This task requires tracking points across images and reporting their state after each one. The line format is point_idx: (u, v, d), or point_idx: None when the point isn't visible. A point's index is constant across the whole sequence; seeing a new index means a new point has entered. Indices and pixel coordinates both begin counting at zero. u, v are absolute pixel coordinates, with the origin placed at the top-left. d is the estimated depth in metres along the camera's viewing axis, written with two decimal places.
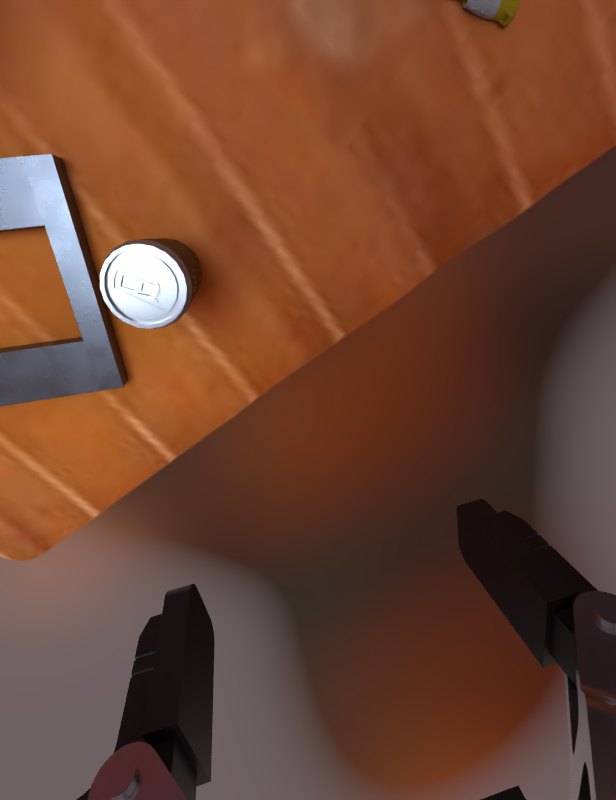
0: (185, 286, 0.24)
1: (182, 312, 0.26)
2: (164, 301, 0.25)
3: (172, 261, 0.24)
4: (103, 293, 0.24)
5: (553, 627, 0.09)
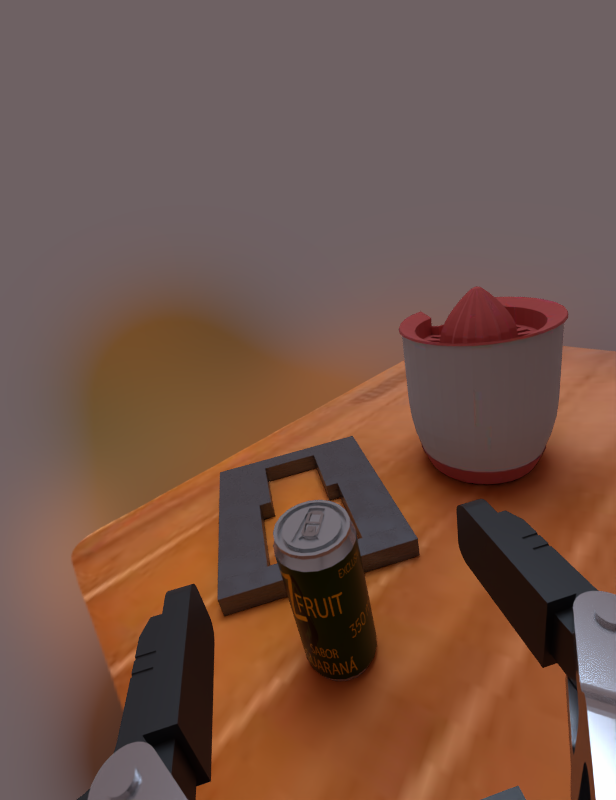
0: (315, 554, 0.23)
1: (289, 564, 0.24)
2: (299, 542, 0.24)
3: (338, 541, 0.24)
4: (304, 503, 0.27)
5: (553, 627, 0.09)
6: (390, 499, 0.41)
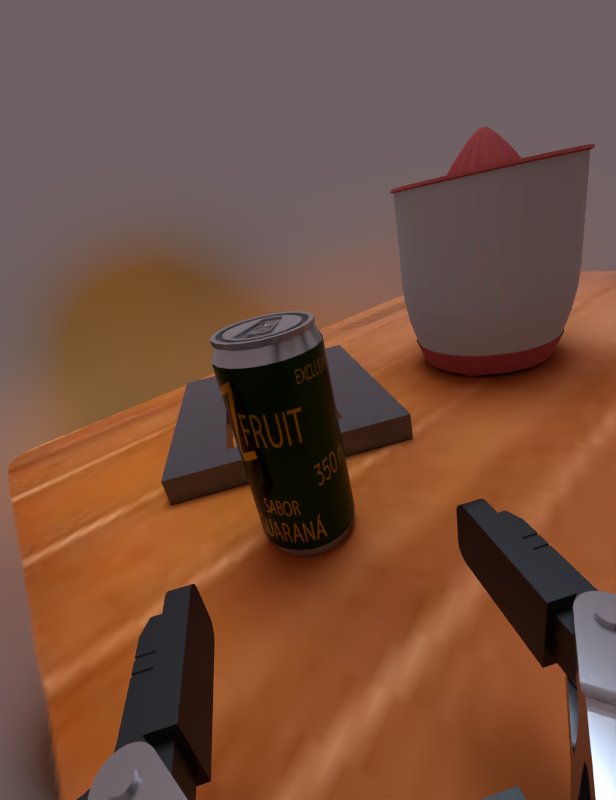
0: (261, 339, 0.17)
1: (227, 362, 0.17)
2: None
3: (294, 329, 0.17)
4: (257, 317, 0.21)
5: (553, 627, 0.09)
6: (379, 386, 0.34)
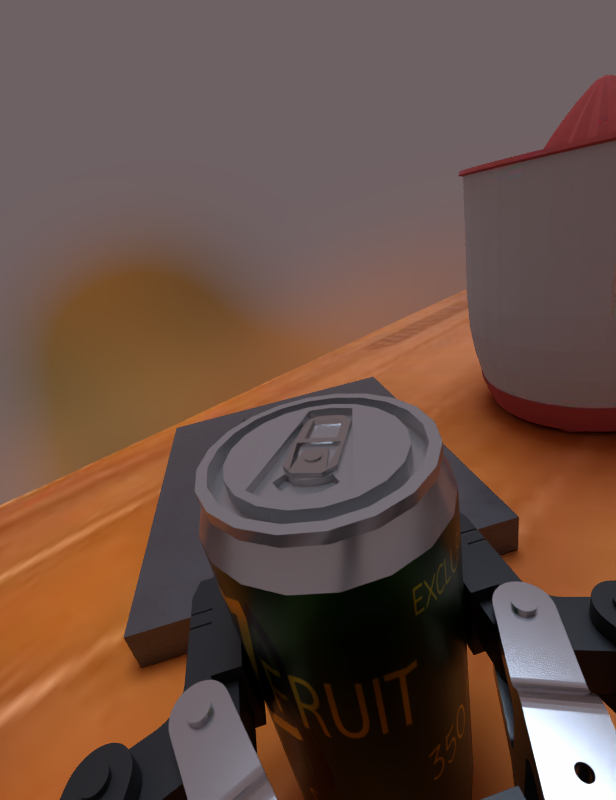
0: (332, 526, 0.06)
1: (237, 565, 0.07)
2: (274, 493, 0.07)
3: (414, 483, 0.07)
4: (295, 402, 0.10)
5: (479, 616, 0.09)
6: (449, 454, 0.24)
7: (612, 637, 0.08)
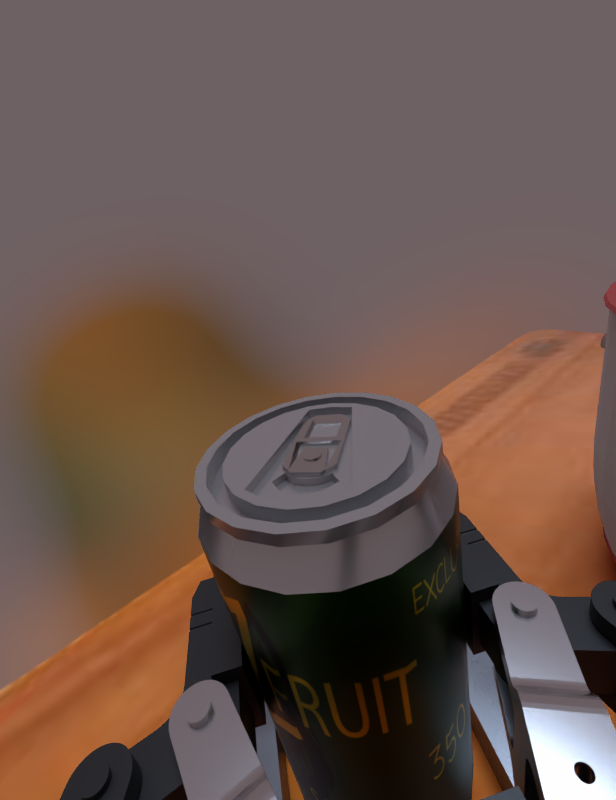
0: (331, 525, 0.06)
1: (236, 564, 0.07)
2: (273, 492, 0.07)
3: (414, 482, 0.06)
4: (294, 401, 0.10)
5: (479, 616, 0.09)
6: None
7: (612, 637, 0.08)
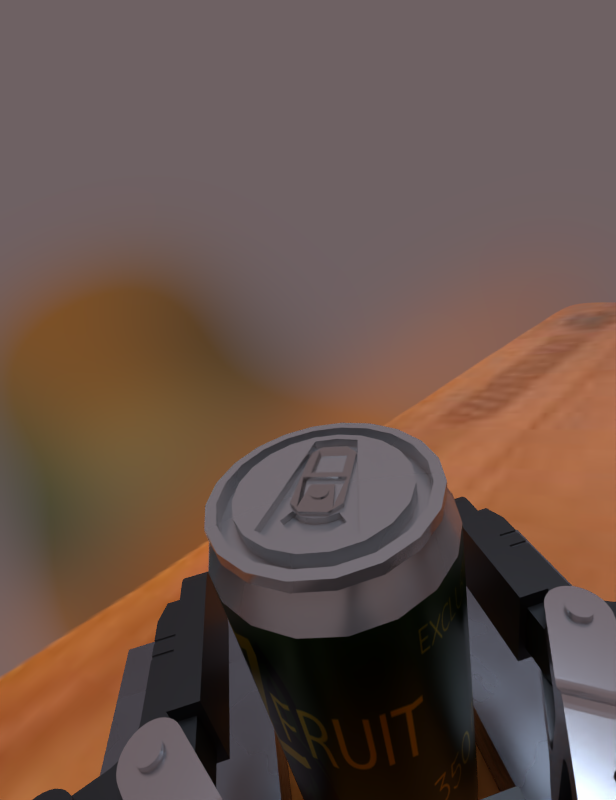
0: (340, 573, 0.06)
1: (247, 606, 0.07)
2: (282, 533, 0.07)
3: (419, 527, 0.07)
4: (300, 431, 0.10)
5: (526, 621, 0.09)
6: None
7: None
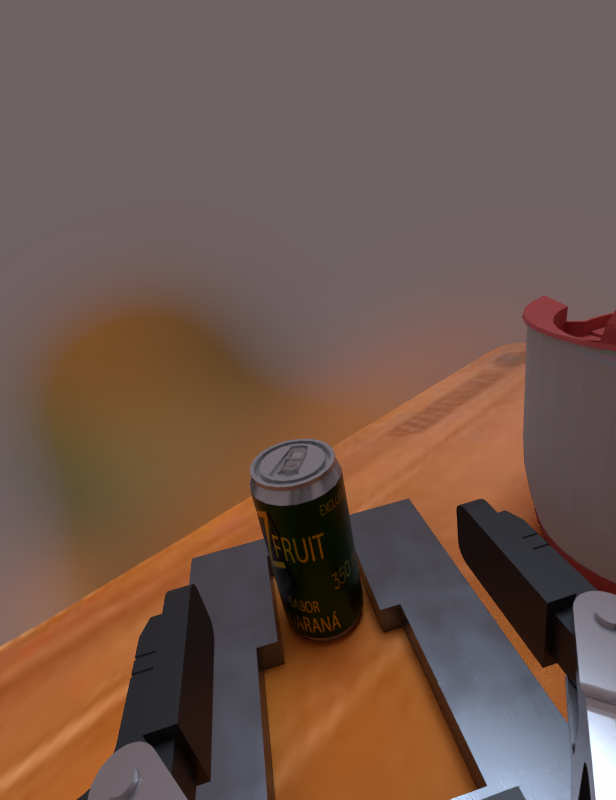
0: (294, 484, 0.21)
1: (265, 498, 0.21)
2: (277, 476, 0.22)
3: (320, 473, 0.21)
4: (286, 442, 0.25)
5: (553, 628, 0.09)
6: (519, 662, 0.20)
7: None
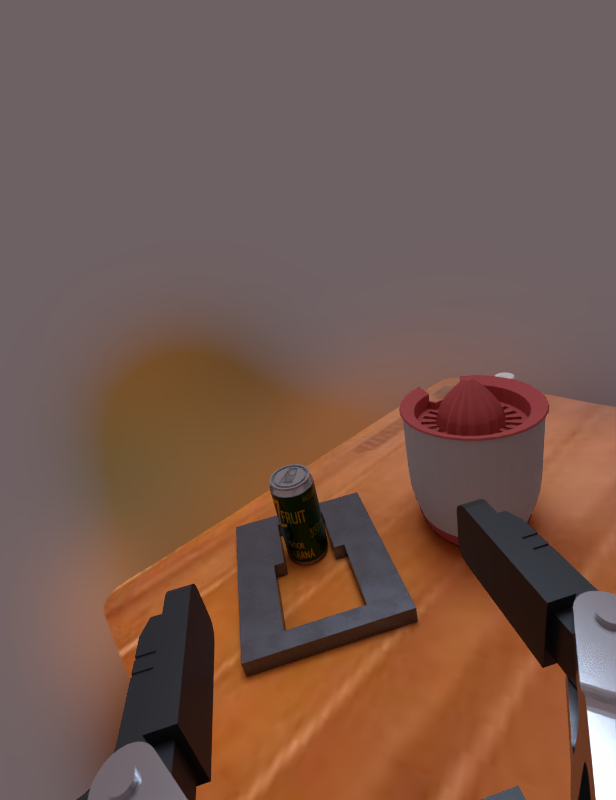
0: (290, 488, 0.46)
1: (277, 494, 0.47)
2: (282, 484, 0.47)
3: (302, 482, 0.47)
4: None
5: (552, 628, 0.09)
6: (391, 564, 0.46)
7: None
